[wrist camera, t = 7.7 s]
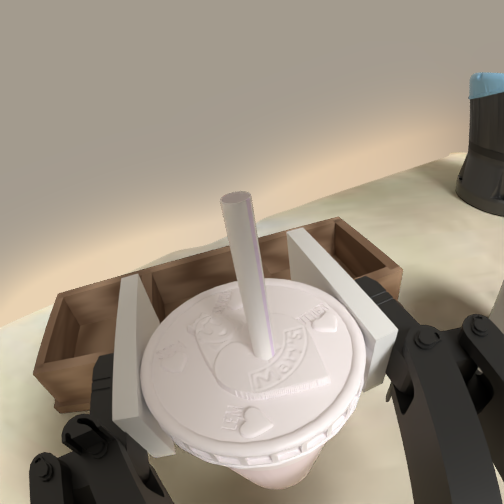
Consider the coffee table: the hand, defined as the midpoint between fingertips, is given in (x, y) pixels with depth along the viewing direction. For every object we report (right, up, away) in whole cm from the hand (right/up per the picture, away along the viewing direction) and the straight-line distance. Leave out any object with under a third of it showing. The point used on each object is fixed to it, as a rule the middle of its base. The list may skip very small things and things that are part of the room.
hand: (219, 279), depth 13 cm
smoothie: (+3, -10, 0) cm, 10 cm away
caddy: (-2, -6, +15) cm, 16 cm away
